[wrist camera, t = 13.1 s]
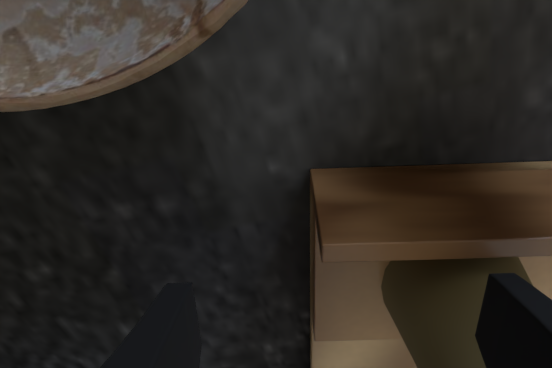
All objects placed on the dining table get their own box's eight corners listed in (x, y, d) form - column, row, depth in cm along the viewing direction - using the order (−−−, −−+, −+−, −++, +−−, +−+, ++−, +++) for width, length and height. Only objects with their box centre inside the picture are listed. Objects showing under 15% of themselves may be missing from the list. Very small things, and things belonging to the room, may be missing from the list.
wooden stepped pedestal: (310, 396, 28) (318, 501, 23) (309, 168, 21) (321, 245, 16) (506, 391, 28) (560, 495, 23) (574, 159, 21) (675, 234, 16)
